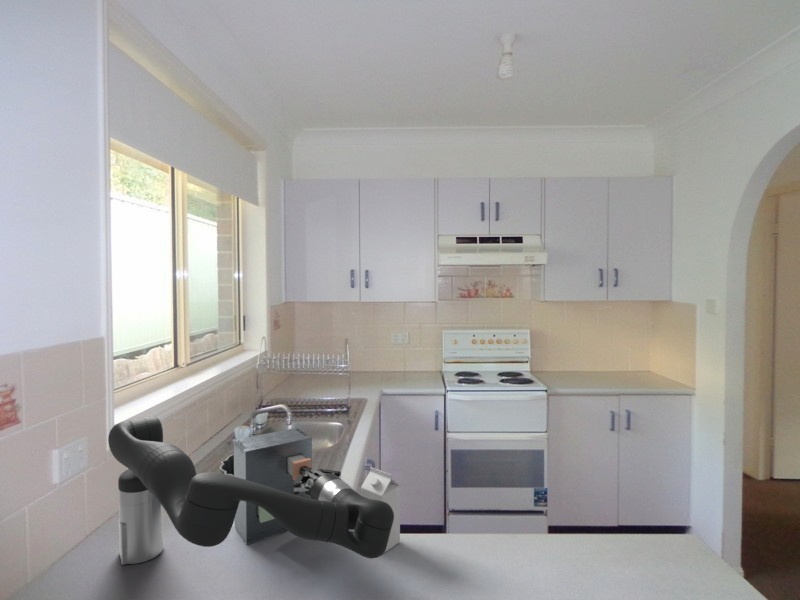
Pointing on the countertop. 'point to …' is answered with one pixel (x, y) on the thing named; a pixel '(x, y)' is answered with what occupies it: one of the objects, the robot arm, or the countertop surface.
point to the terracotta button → (296, 464)
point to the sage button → (263, 515)
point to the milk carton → (384, 498)
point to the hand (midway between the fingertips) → (302, 470)
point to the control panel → (267, 475)
